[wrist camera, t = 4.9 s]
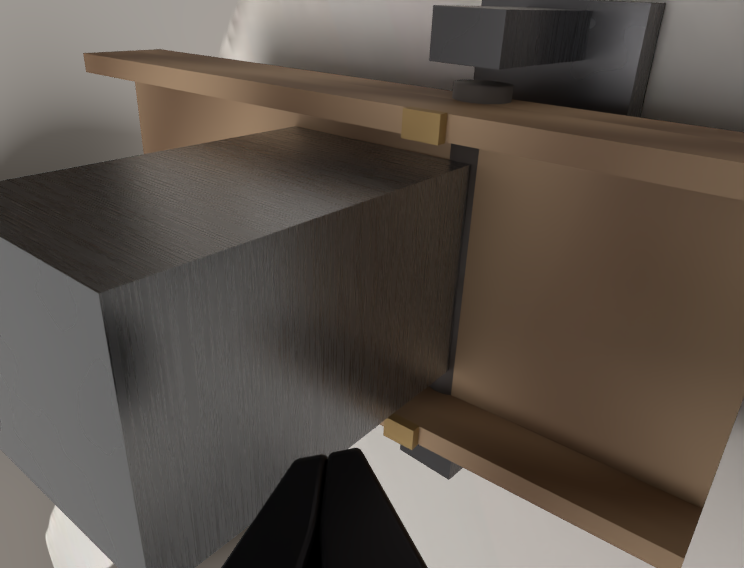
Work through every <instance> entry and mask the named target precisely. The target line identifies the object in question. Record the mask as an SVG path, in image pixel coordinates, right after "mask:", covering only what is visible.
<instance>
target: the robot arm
mask: <svg viewBox="0 0 744 568" xmlns="http://www.w3.org/2000/svg"><path fill="white" fill-rule="evenodd" d="M221 568H428V567H427V566H426V564H425V562H424V560H423V559H422V557H421V555H420V553H419V552H418V550H417V548H416V546H415V544H414V543H413V541H412V539H411V537H410V536H409V534H408V532H407V530H406V529H405V527H404V525H403V523H402V521H401V520H400V518H399V516H398V514H397V513H396V511H395V509H394V507H393V505H392V504H391V502H390V500H389V498H388V497H387V495H386V493H385V491H384V490H383V488H382V486H381V484H380V482H379V481H378V479H377V477H376V475H375V474H374V472H373V470H372V468H371V467H370V465H369V463H368V461H367V459H366V458H365V456H364V454H363V452H362V451H361V450H360V449H358V448H352V449H346V450H341V451H336V452H332V453H331V454H330V455H329V456H328V457H327V456H326V455H324V454H319V455H314V456H308V457H303V458H298V459H296V460H295V461H294V462H293V463H292V464H291V465H290V467H289V468H288V470H287V471H286V473H285V474H284V476H283V477H282V479H281V480H280V482H279V483H278V485H277V486H276V488H275V489H274V491H273V492H272V493H271V495H270V496H269V498H268V499H267V501H266V502H265V504H264V505H263V507H262V508H261V510H260V511H259V513H258V514H257V516H256V517H255V519H254V520H253V522H252V523H251V525H250V526H249V528H248V529H247V531H246V532H245V533H244V535H243V536H242V538H241V539H240V541H239V542H238V544H237V545H236V547H235V548H234V550H233V551H232V553H231V554H230V556H229V557H228V559H227V560H226V562H225V563H224V565H223V566H222V567H221Z"/></svg>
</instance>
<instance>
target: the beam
mask: <svg viewBox="0 0 744 568" xmlns="http://www.w3.org/2000/svg"><path fill="white" fill-rule="evenodd" d="M83 54H84V61H85V67H86V72H89V73H94V74H99V75H104V76H110V77H114V78H120V79H125V80H130V81H135V86H136V93H137V102H138V110H139V119H140V127H141V135H142V143H143V151H144V154H147V153H153V152H158V151H163V150H169V149H174V148H180V147H185V146H191V145H196V144H201V143H207V142H212V141H218V140H223V139H228V138H234V137H239V136H245V135H250V134H255V133H261V132H266V131H272V130H277V129H282V128H288V127H293V126H297V127H302V128H306V129H311V130H315V131H320V132H324V133H329V134H333V135H338V136H343V137H347V138H352V139H356V140H361V141H365V142H370V143H374V144H379V145H383V146H388V147H392V148H397V149H402V150H406V151H411V152H415V153H420V154H424V155H429V156H433V157H438V158H442V159H447V160H451V161H456V162H461V163H465V164H470V172H469V181H468V190H467V199H466V209H465V218H464V227H463V236H462V245H461V254H460V263H459V272H458V281H457V290H456V299H455V308H454V318H453V327H452V336H451V345H450V354H449V363H448V371H447V372H446V373H445V374H443V375H442V376H441V377H440V378H438V379H437V380H436V381H434V382H433V383H432V384H431V385H429V386H428V387H427V388H425V389H424V390H423V391H422V392H420V393H419V394H418V395H416V396H415V397H414V398H413V399H411V400H410V401H409V402H407V403H406V404H405V405H403V406H402V407H401V408H400V409H398V410H397V411H396V412H394V413H393V414H392V415H391V416H389V417H388V418H387V419H385V420H384V421H383V422H382V423H380V425H382V426H384V434H383V435H384V436H386V437H388V438H390V439H392V440H394V441H395V442H397V443H399V444H401V445H403V446H405V447H407V448H409V449H411V450H413V449H414V448H415V447H416V446H417V445H418V444H419V445H421V446H423V447H424V448H426V449H428V450H430V451H432V452H434V453H436V454H438V455H440V456H442V457H444V458H446V459H448V460H450V461H451V462H453V463H455V464H457V465H459V466H461V467H463V468H465V469H467V470H469V471H471V472H473V473H475V474H477V475H479V476H480V477H482V478H484V479H486V480H488V481H490V482H492V483H494V484H496V485H498V486H500V487H502V488H504V489H506V490H507V491H509V492H511V493H513V494H515V495H517V496H519V497H521V498H523V499H525V500H527V501H529V502H531V503H533V504H534V505H536V506H538V507H540V508H542V509H544V510H546V511H548V512H550V513H552V514H554V515H556V516H558V517H560V518H561V519H563V520H565V521H567V522H569V523H571V524H573V525H575V526H577V527H579V528H581V529H583V530H585V531H587V532H588V533H590V534H592V535H594V536H596V537H598V538H600V539H602V540H604V541H606V542H608V543H610V544H612V545H614V546H616V547H617V548H619V549H621V550H623V551H625V552H627V553H629V554H631V555H633V556H635V557H637V558H639V559H641V560H643V561H644V562H646V563H648V564H650V565H652V566H654V567H656V568H681V566H682V564H683V561H684V558H685V555H686V553H687V550H688V547H689V545H690V542H691V539H692V536H693V534H694V531H695V528H696V526H697V523H698V520H699V517H700V515H701V512H702V509H703V507H704V504H705V501H706V498H707V496H708V493H709V490H710V488H711V485H712V482H713V479H714V477H715V474H716V471H717V469H718V466H719V463H720V460H721V458H722V455H723V452H724V450H725V447H726V444H727V441H728V439H729V436H730V433H731V430H732V428H733V425H734V422H735V420H736V417H737V414H738V411H739V409H740V406H741V403H742V401H743V398H744V132H737V131H730V130H723V129H716V128H709V127H702V126H695V125H688V124H681V123H674V122H667V121H660V120H653V119H646V118H639V117H632V116H625V115H618V114H611V113H604V112H597V111H590V110H583V109H576V108H569V107H562V106H555V105H548V104H541V103H534V102H527V101H520V100H513V99H512V95H513V88H514V85H512V84H509V83H504V82H498V81H489V80H457V81H454V83H453V91H449V90H442V89H435V88H428V87H421V86H414V85H407V84H400V83H393V82H386V81H379V80H372V79H365V78H358V77H351V76H344V75H337V74H330V73H323V72H316V71H309V70H302V69H295V68H288V67H281V66H274V65H267V64H260V63H253V62H246V61H239V60H232V59H225V58H218V57H211V56H204V55H197V54H196V55H195V54H189V53H183V52H174V51H168V50H161V49H156V50H138V51H117V52H99V53H83Z"/></svg>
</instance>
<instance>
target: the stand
mask: <svg viewBox="0 0 744 568" xmlns="http://www.w3.org/2000/svg"><path fill="white" fill-rule="evenodd" d="M664 6H665V3H643V2H621V1H598V0H482V6H446V5H433V18H432V32H431V45H430V58H429V61H435V62H443V63H451V64H458V65H466V66H474V67H475V72H474V80H489V81H498V82H504V83H509V84H512V85H514V88H513V95H512V99H513V100H520V101H527V102H534V103H541V104H548V105H555V106H562V107H569V108H576V109H583V110H590V111H597V112H604V113H611V114H618V115H625V116H632V117H639V118H640V113H641V109H642V104H643V100H644V95H645V91H646V87H647V82H648V78H649V73H650V69H651V64H652V60H653V55H654V51H655V46H656V42H657V37H658V33H659V28H660V24H661V20H662V15H663V11H664ZM400 450H402V451H404V452H405V453H407V454H408V455H410V456H412V457H413V458H415V459H416V460H418V461H420V462H421V463H423V464H424V465H426V466H428V467H429V468H431V469H432V470H434V471H436V472H437V473H439V474H440V475H442V476H444V477H445V478H447V479H448V480H449V479H450V478H452V477H453V476H454V475H455V474H456V473H457V472H458V471H460V470H461V469H462V468H463V467H461V466H459V465H457V464H455V463H453V462H451V461H450V460H448V459H446V458H444V457H442V456H440V455H438V454H436V453H434V452H432V451H430V450H428V449H426V448H424V447H423V446H421V445H419V444H418V445H417V446H416V447H415V448H414V449H413V450H411V449H409V448H407V447H405V446H403V445H400Z"/></svg>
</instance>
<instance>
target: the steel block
mask: <svg viewBox="0 0 744 568" xmlns="http://www.w3.org/2000/svg"><path fill="white" fill-rule="evenodd" d="M469 172H470V164H465V163H461V162H456V161H451V160H447V159H442V158H438V157H433V156H429V155H424V154H420V153H415V152H411V151H406V150H402V149H397V148H392V147H388V146H383V145H379V144H374V143H370V142H365V141H361V140H356V139H352V138H347V137H343V136H338V135H333V134H329V133H324V132H320V131H315V130H311V129H306V128H302V127H297V126H293V127H288V128H282V129H277V130H272V131H266V132H261V133H255V134H250V135H245V136H239V137H234V138H228V139H223V140H218V141H212V142H207V143H201V144H196V145H191V146H185V147H180V148H174V149H169V150H163V151H158V152H153V153H147V154H142V155H137V156H131V157H126V158H121V159H115V160H109V161H104V162H99V163H93V164H88V165H83V166H77V167H72V168H66V169H61V170H56V171H50V172H45V173H39V174H34V175H28V176H23V177H17V178H12V179H7V180H1V181H0V449H1V450H2V451H3V452H4V453H5V455H6V456H8V457H9V459H11V461H12V462H13V463H14V464H15V465H17V467H18V468H19V469H20V470H21V471H23V473H24V474H26V476H28V478H30V480H31V481H32V482H33V483H34V484H35V485H36V486H38V488H39V489H40V490H41V491H42V492H43V493H44V494H45V495H46V496H47V497H48V498H49V499H50V500H51V501H52V502H53V503H54V504H55V505H56V506H57V507H58V508H59V509H60V510H61V511H62V512H63V513H64V514H65V515H66V516H67V517H68V518H69V519H70V520H71V521H72V522H73V523H74V524H75V525H76V526H77V527H78V528H79V529H80V530H81V531H82V532H83V533H84V534H85V535H86V536H87V537H88V538H89V539H90V540H91V541H92V542H93V543H94V544H95V545H96V546H97V547H98V548H99V549H100V550H101V551H102V552H103V553H104V554H105V555H106V556H107V557H108V558H109V559H110V560H111V561H112V562H113V563H114V564H115V565H116V566H117V567H118V568H195V567H196V566H198V565H199V564H200V563H202V562H203V561H204V560H205V559H207V558H208V557H209V556H211V555H212V554H213V553H214V552H216V551H217V550H218V549H220V548H221V547H222V546H223V545H224V544H226V543H227V542H229V541H230V540H231V539H232V538H234V537H235V536H236V535H237V534H239V533H240V532H241V531H243V530H244V529H245V528H246V527H248V526H249V525H250V524H251V523H252V522H253V520H254V519H255V517H256V516H257V514H258V513H259V511H260V510H261V508H262V507H263V505H264V504H265V502H266V501H267V499H268V498H269V496H270V495H271V493H272V492H273V491H274V489H275V488H276V486H277V485H278V483H279V482H280V480H281V479H282V477H283V476H284V474H285V473H286V471H287V470H288V468H289V467H290V465H291V464H292V463H293V462H294V461H295V460H296V459H298V458H303V457H308V456H314V455H319V454H324V455H326V456H327V457H328V456H329V455H330V454H331V453H332V452H336V451H341V450H346V449H348V448H349V447H351V446H352V445H353V444H355V443H356V442H357V441H358V440H360V439H361V438H362V437H364V436H365V435H366V434H367V433H369V432H370V431H371V430H373V429H374V428H375V427H376V426H378V425H379V424H380V423H382V422H383V421H384V420H385V419H387V418H388V417H389V416H391V415H392V414H393V413H394V412H396V411H397V410H398V409H400V408H401V407H402V406H403V405H405V404H406V403H407V402H409V401H410V400H411V399H413V398H414V397H415V396H416V395H418V394H419V393H420V392H422V391H423V390H424V389H425V388H427V387H428V386H429V385H431V384H432V383H433V382H434V381H436V380H437V379H438V378H440V377H441V376H442V375H443V374H445V373H446V372H447V371H448V363H449V354H450V345H451V336H452V327H453V318H454V308H455V299H456V290H457V281H458V272H459V263H460V254H461V245H462V236H463V227H464V218H465V209H466V199H467V190H468V181H469Z"/></svg>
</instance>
